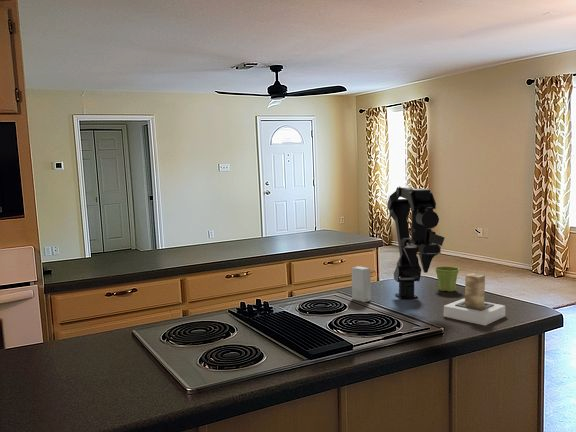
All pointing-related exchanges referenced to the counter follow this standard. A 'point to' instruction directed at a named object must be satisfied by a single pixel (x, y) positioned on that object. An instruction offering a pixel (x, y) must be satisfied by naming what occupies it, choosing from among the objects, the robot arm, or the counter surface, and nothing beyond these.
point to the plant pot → (447, 277)
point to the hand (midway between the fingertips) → (419, 270)
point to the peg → (474, 290)
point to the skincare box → (361, 283)
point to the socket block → (474, 312)
